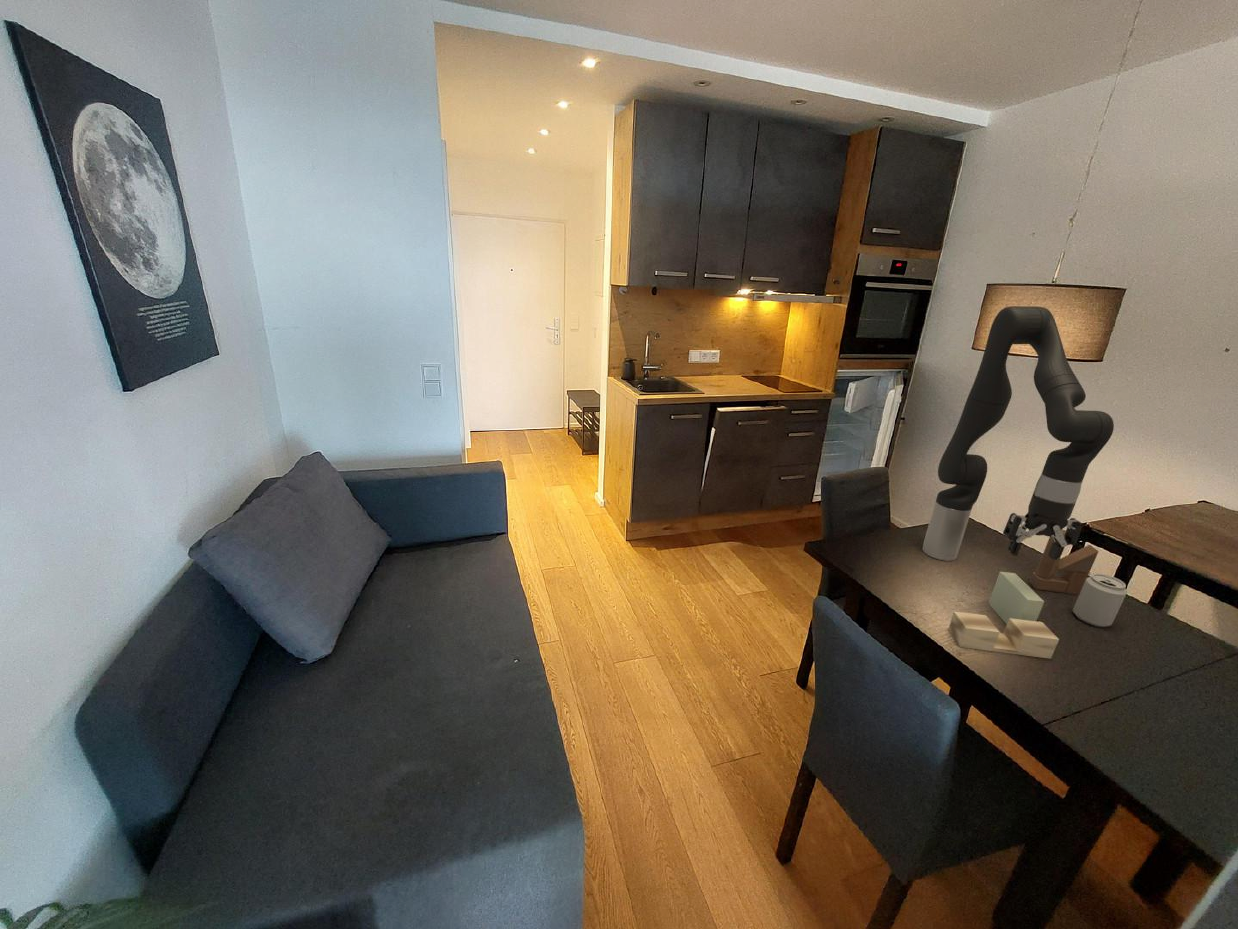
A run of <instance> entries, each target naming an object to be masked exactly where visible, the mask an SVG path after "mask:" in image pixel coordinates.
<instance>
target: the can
mask: <svg viewBox="0 0 1238 929" xmlns="http://www.w3.org/2000/svg"><path fill="white" fill-rule="evenodd" d="M1126 586H1127V585H1126V583H1125V582H1124V581H1122V580H1121V579H1119V578H1118V577H1117V578H1116V577H1115V576H1111V575H1109V574H1103V573H1099V572H1098V573H1093V574H1091V576H1089V577H1088V576H1087V579H1086V580H1085V583H1084V585H1083V587H1082V590H1081V592H1080V594H1079V595H1078V598H1077V599H1076V601H1075V604H1074V606H1073V608H1072V612H1073V614H1075V616H1076V617H1077V618H1078V620H1081V622H1083V623H1086V624H1088V625H1091V626H1095V627H1098V628H1100V627H1101V628H1105V627H1111V626H1112V625H1113V623H1114V621H1115V619H1116V617H1117V615H1118V613H1119V610H1120V608H1121V606H1122V605H1123V602H1124V600H1125V598H1126V596H1127V594H1128V590H1127V589H1126Z"/></svg>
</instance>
